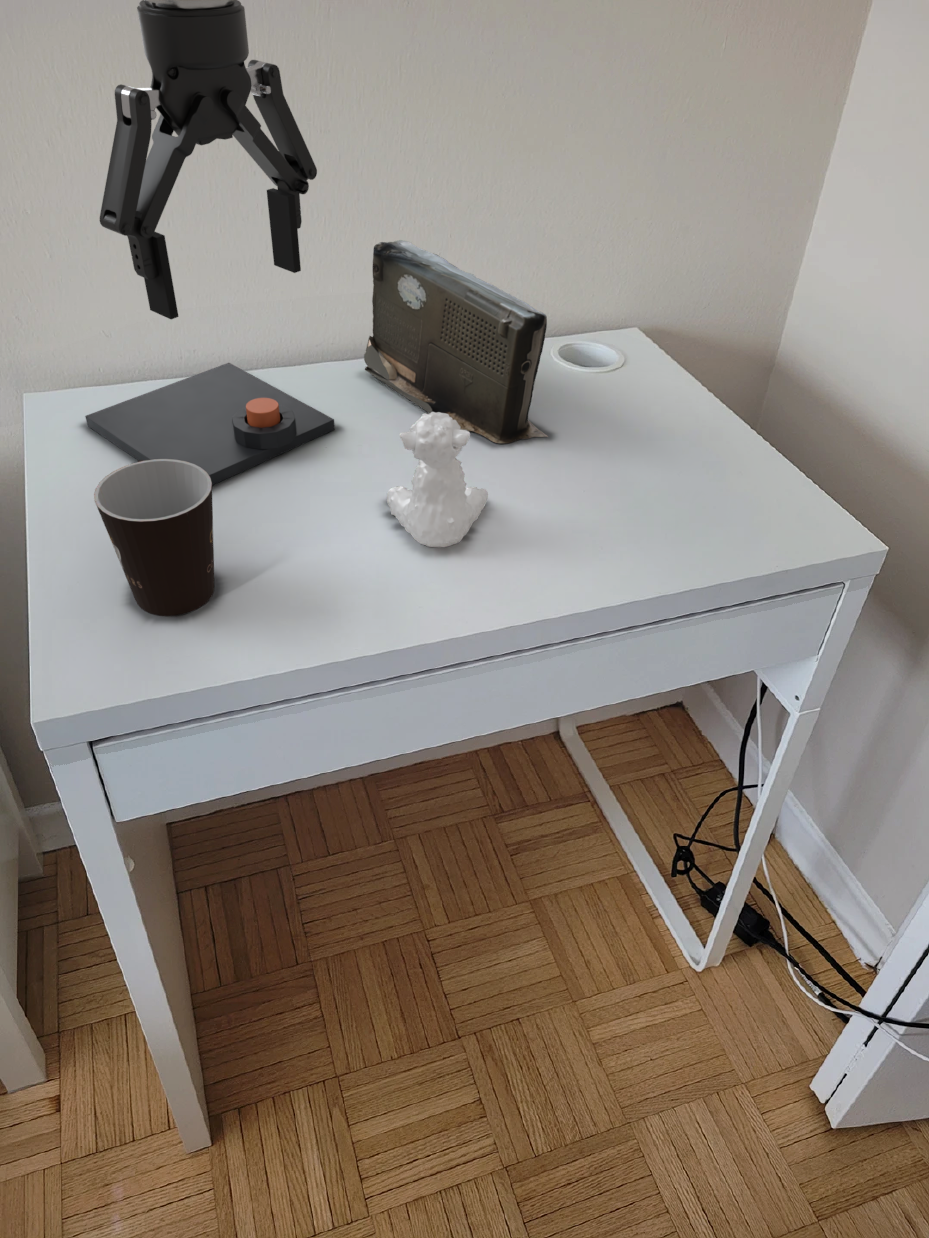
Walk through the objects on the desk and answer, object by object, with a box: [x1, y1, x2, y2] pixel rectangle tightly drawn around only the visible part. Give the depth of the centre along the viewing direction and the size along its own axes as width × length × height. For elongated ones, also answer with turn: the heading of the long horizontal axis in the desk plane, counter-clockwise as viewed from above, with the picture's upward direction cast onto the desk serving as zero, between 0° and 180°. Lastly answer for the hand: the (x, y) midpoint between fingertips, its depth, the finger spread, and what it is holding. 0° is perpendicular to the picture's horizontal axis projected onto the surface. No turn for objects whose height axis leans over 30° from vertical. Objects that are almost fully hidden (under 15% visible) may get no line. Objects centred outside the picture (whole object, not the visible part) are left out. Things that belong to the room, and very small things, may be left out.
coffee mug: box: [93, 459, 215, 617], centre depth 76 cm, size 12×9×10 cm
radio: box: [363, 239, 549, 444], centre depth 100 cm, size 23×9×15 cm, turn 37°
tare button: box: [246, 398, 280, 428], centre depth 94 cm, size 3×3×2 cm
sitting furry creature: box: [386, 412, 489, 548], centre depth 83 cm, size 10×9×12 cm
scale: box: [84, 362, 336, 486], centre depth 98 cm, size 18×19×3 cm
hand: (229, 290), depth 82 cm, fingers open, 13 cm apart
